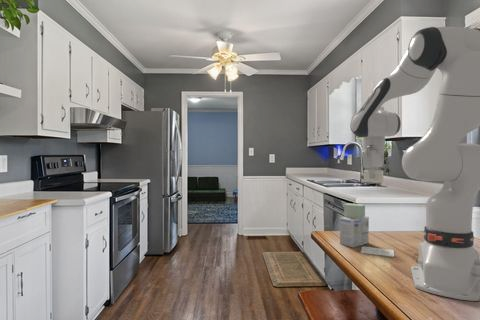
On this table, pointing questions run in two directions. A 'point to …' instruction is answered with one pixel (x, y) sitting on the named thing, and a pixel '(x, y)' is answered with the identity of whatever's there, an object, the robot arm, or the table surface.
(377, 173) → the brick
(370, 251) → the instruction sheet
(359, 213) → the brick
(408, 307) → the table surface
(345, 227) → the light bulb box
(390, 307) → the table surface
